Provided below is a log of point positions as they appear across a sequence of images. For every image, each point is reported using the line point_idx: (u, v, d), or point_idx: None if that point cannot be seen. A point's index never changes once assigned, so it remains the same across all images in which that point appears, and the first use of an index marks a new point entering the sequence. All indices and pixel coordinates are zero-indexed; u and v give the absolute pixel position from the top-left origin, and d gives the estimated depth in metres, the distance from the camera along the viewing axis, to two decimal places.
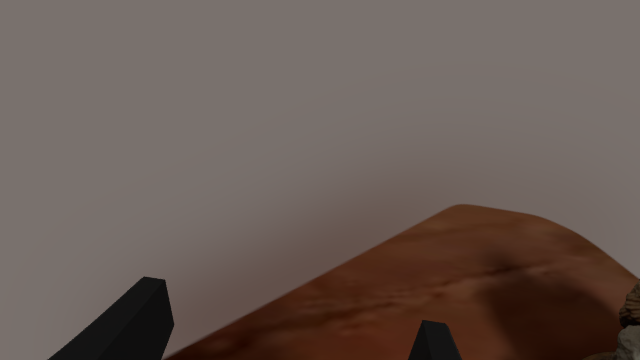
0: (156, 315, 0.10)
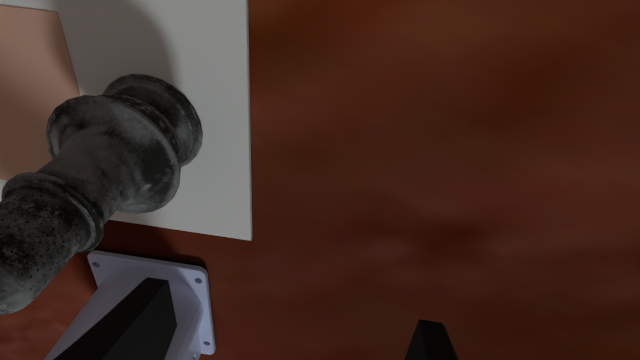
0: (159, 316, 0.10)
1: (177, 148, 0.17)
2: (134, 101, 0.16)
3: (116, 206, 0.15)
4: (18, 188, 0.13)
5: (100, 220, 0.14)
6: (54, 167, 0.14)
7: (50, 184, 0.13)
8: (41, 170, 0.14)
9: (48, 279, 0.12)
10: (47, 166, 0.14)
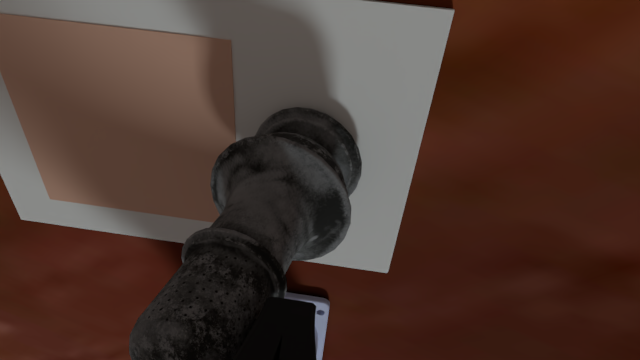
0: None
1: None
2: (310, 143, 0.15)
3: None
4: (207, 244, 0.12)
5: (284, 285, 0.12)
6: (240, 221, 0.12)
7: (243, 245, 0.11)
8: (226, 222, 0.12)
9: None
10: (231, 217, 0.12)
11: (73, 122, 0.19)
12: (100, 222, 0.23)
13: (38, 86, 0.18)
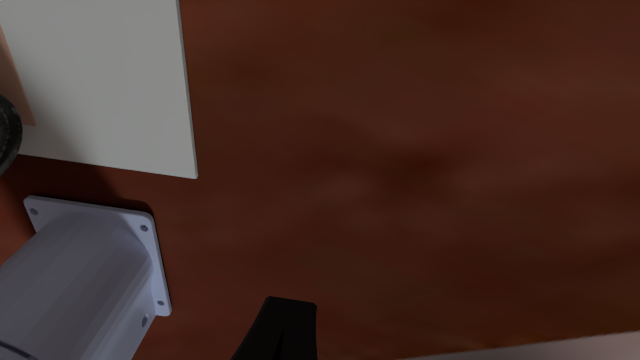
0: None
1: None
2: None
3: None
4: None
5: None
6: None
7: None
8: None
9: None
10: None
11: None
12: None
13: None
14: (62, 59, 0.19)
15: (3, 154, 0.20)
